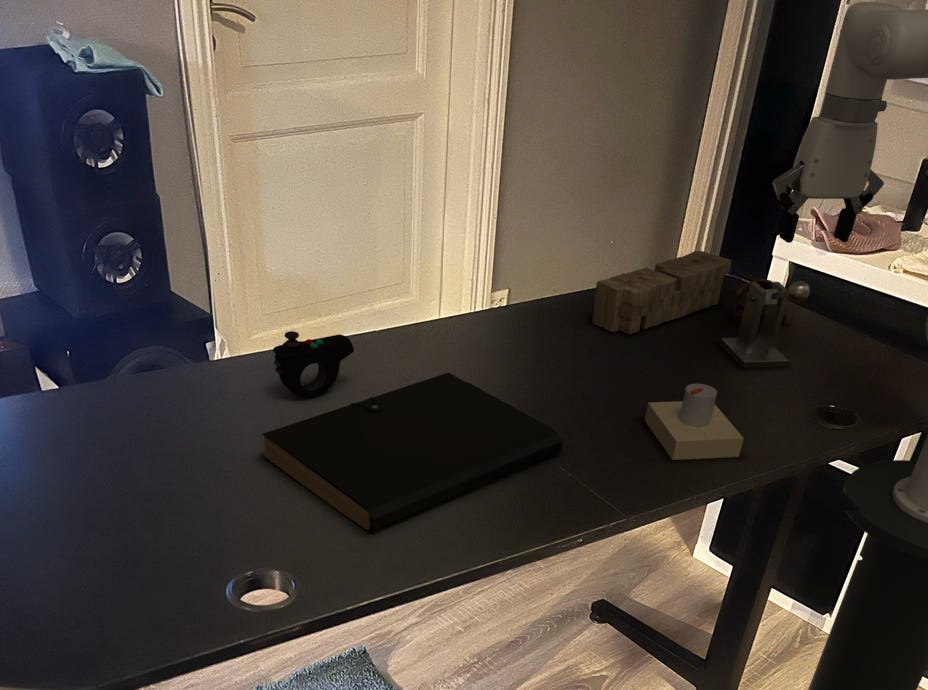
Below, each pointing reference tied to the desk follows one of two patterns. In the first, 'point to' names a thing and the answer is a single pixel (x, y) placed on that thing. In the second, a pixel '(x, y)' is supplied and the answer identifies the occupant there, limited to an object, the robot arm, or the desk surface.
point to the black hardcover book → (408, 449)
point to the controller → (310, 362)
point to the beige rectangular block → (692, 433)
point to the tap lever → (788, 293)
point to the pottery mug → (762, 282)
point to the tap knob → (698, 404)
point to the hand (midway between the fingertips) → (813, 239)
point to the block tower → (659, 292)
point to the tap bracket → (747, 345)
